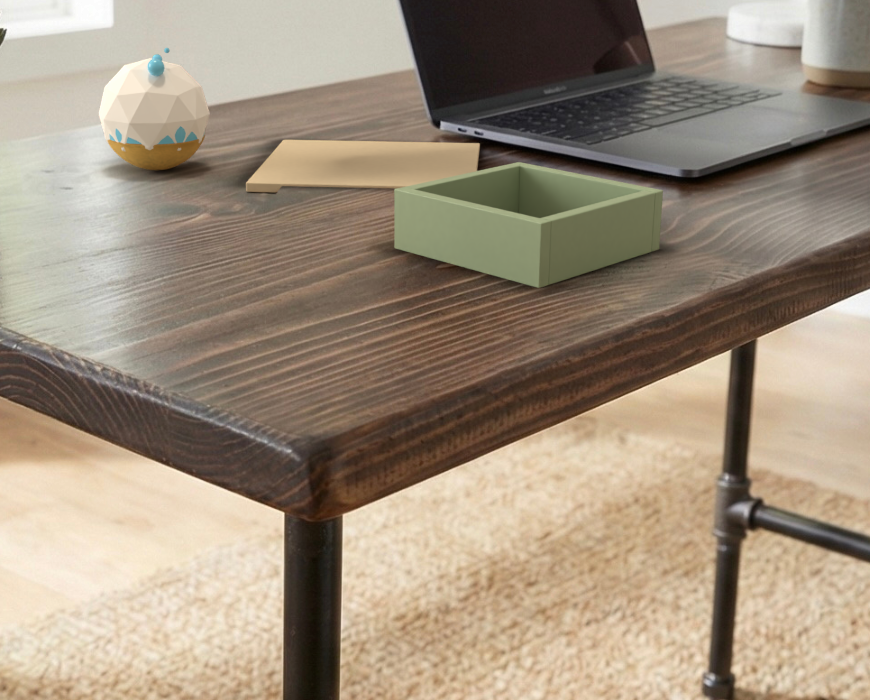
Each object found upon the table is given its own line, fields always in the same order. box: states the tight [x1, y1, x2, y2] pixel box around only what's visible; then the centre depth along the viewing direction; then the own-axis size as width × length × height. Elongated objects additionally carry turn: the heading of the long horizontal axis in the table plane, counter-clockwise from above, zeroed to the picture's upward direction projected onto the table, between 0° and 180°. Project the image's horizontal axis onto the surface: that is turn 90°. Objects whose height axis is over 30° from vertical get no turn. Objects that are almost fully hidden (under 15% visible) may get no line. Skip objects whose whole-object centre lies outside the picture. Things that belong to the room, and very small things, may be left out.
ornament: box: [98, 47, 211, 171], centre depth 84 cm, size 7×7×8 cm
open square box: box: [393, 161, 664, 289], centre depth 66 cm, size 10×10×4 cm
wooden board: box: [245, 139, 481, 194], centre depth 86 cm, size 14×14×1 cm
